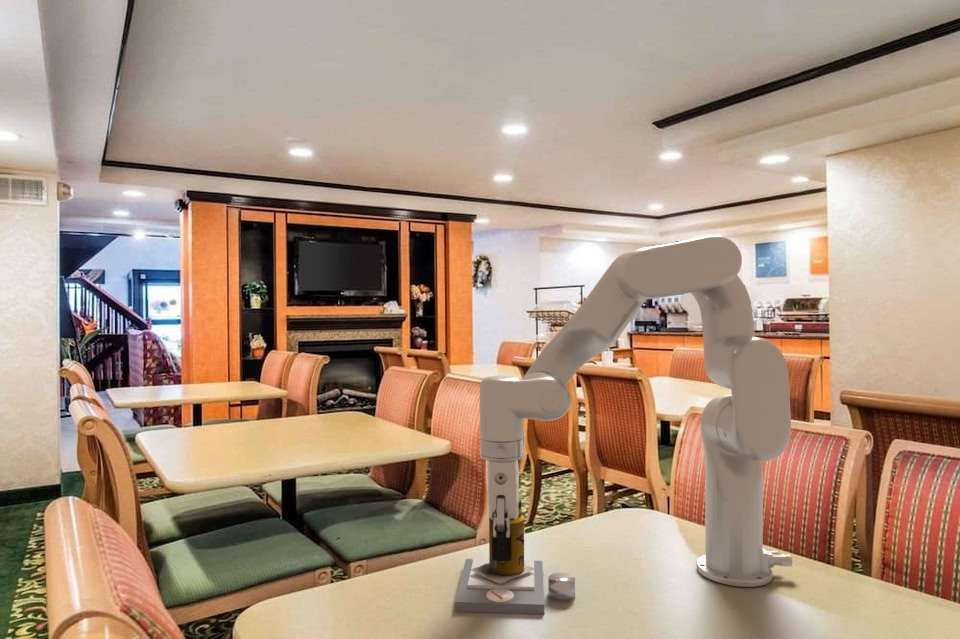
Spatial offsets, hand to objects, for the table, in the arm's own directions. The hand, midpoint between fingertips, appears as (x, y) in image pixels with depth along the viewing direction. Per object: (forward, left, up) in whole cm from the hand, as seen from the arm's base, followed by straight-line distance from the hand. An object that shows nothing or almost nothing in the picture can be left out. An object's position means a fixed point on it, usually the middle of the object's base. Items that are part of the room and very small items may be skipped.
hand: (502, 551), depth 109 cm
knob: (-10, +4, -6) cm, 12 cm away
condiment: (0, +1, -3) cm, 3 cm away
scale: (0, +2, -6) cm, 6 cm away
